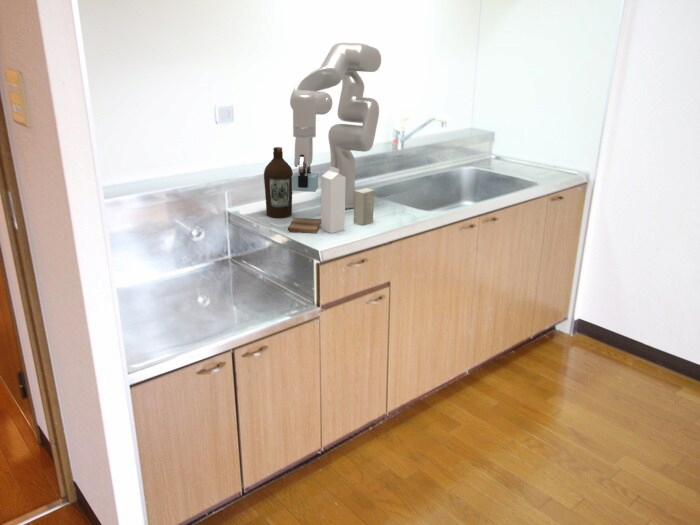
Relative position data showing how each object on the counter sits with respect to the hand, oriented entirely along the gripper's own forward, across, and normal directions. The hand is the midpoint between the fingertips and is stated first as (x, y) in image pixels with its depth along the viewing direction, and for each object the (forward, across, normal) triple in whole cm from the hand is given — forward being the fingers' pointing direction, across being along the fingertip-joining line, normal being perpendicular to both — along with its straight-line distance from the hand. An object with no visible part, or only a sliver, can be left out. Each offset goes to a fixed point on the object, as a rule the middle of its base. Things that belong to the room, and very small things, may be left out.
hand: (304, 184), depth 211 cm
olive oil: (+16, -14, -12) cm, 24 cm away
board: (+15, 0, 0) cm, 15 cm away
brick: (+2, 0, 0) cm, 2 cm away
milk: (+16, +1, +10) cm, 19 cm away
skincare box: (+16, -9, +20) cm, 27 cm away
